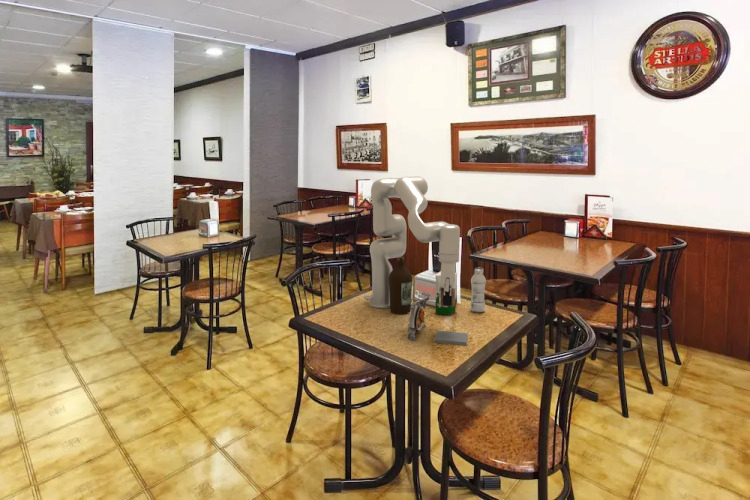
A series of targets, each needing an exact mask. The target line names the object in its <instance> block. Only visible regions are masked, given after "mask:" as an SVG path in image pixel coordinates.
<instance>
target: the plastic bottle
mask: <svg viewBox="0 0 750 500" xmlns="http://www.w3.org/2000/svg"><path fill="white" fill-rule="evenodd" d="M470 283H471V297H470V298H471V300H470V303H469V304H470V305H469V306H470V311H471V312H474V313H483V312H485V309H486V303H485V288H486V284H487V279H486V277H485V275H484V268H483V267H475V268H474V274H473V275H472V277H471V279H470Z"/></svg>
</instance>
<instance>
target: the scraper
mask: <svg viewBox="0 0 750 500" xmlns="http://www.w3.org/2000/svg"><path fill="white" fill-rule="evenodd" d="M449 290H450V289H449ZM443 295H444V288H443V287H442V288H441V287H440V289H439V307H441V306H444V305H443ZM451 296H452V306H454V305H455V288H452V290H451Z"/></svg>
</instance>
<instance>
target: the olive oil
mask: <svg viewBox="0 0 750 500" xmlns="http://www.w3.org/2000/svg"><path fill="white" fill-rule="evenodd" d="M412 290H413V274H412V272H411V271H410V270H409V269H408V268H407V266H405V257H404V256H401V257H396V266H395V267H394V268H392V271H391V273H390V275H389V294H390V308H389V311H390V313H391V314H395V315H407V314H410V312H411V311H410V308H411V304H413V303H412V302H413V298H412V292H413V291H412Z"/></svg>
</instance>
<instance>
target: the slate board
mask: <svg viewBox="0 0 750 500" xmlns="http://www.w3.org/2000/svg"><path fill="white" fill-rule="evenodd" d="M468 335H469V333H468V332H458V331H457V332H456V331H444V330H436V331H435V336H434V339H433V343H437V344H448V345H460V346H468V337H469V336H468Z"/></svg>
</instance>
